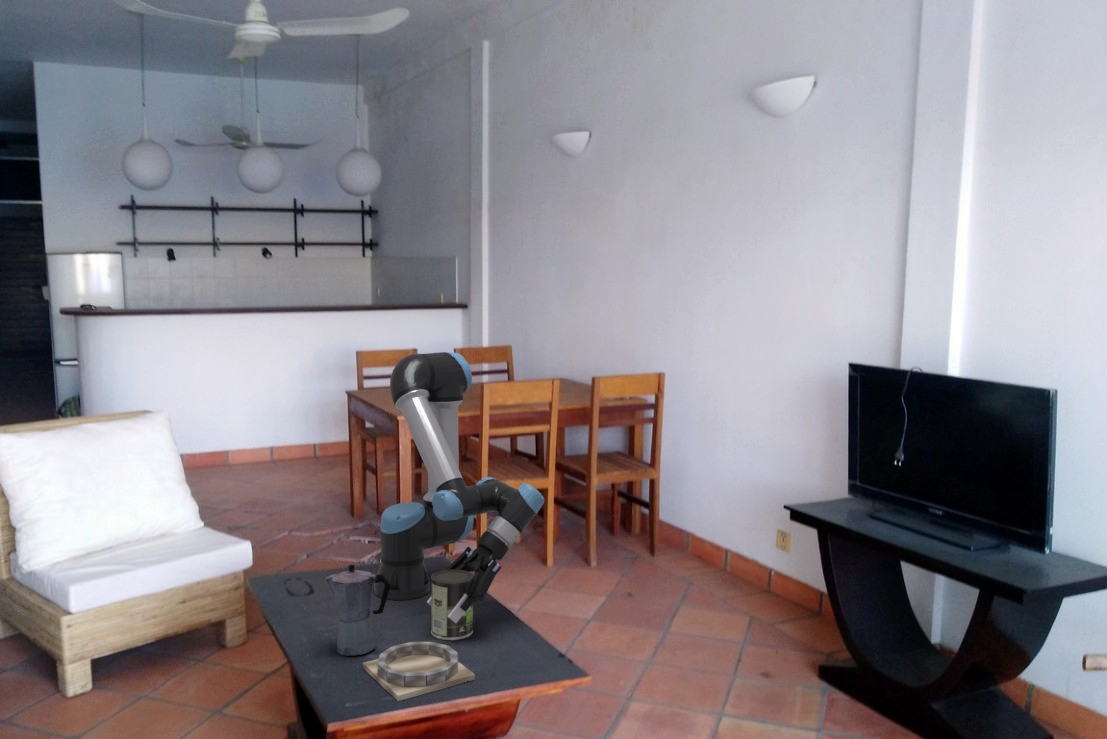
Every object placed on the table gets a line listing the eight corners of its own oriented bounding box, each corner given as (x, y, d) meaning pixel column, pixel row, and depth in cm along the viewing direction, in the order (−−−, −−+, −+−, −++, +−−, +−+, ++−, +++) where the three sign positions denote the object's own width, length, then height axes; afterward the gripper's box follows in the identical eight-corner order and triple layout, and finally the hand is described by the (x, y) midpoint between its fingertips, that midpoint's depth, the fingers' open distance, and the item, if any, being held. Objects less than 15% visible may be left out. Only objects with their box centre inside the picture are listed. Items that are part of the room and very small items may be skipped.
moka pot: (330, 639, 209) (330, 557, 207) (395, 641, 209) (395, 559, 207) (318, 656, 200) (317, 570, 197) (386, 658, 199) (386, 573, 197)
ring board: (362, 668, 194) (362, 652, 194) (435, 649, 205) (436, 634, 204) (397, 701, 180) (398, 684, 179) (474, 679, 190) (475, 663, 190)
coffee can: (478, 626, 219) (479, 570, 217) (465, 642, 209) (466, 585, 207) (438, 621, 221) (439, 567, 219) (424, 638, 211) (424, 581, 209)
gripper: (531, 560, 212) (474, 637, 205) (483, 536, 231) (429, 606, 224) (513, 542, 209) (454, 619, 202) (466, 519, 227) (410, 589, 220)
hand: (441, 612), depth 213 cm, fingers closed on coffee can, 10 cm apart
